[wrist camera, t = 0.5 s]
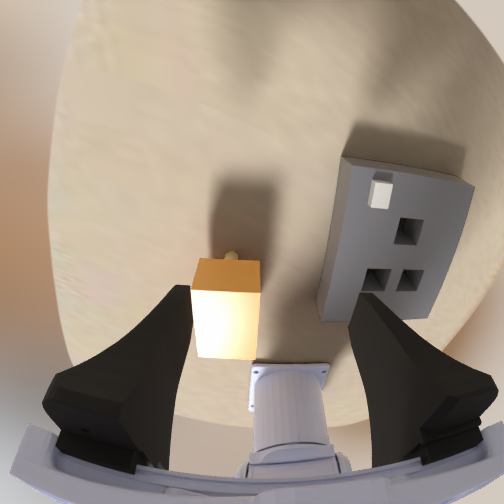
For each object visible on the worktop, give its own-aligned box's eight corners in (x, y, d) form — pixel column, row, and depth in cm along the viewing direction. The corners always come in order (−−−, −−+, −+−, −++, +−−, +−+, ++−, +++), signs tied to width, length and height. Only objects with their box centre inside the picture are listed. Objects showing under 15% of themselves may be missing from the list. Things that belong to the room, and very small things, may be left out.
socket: (416, 300, 25) (429, 322, 22) (315, 301, 24) (322, 327, 22) (456, 176, 19) (479, 190, 16) (340, 156, 18) (355, 168, 16)
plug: (255, 309, 25) (255, 359, 20) (207, 306, 25) (198, 356, 20) (259, 246, 22) (260, 293, 17) (204, 243, 22) (191, 289, 17)
